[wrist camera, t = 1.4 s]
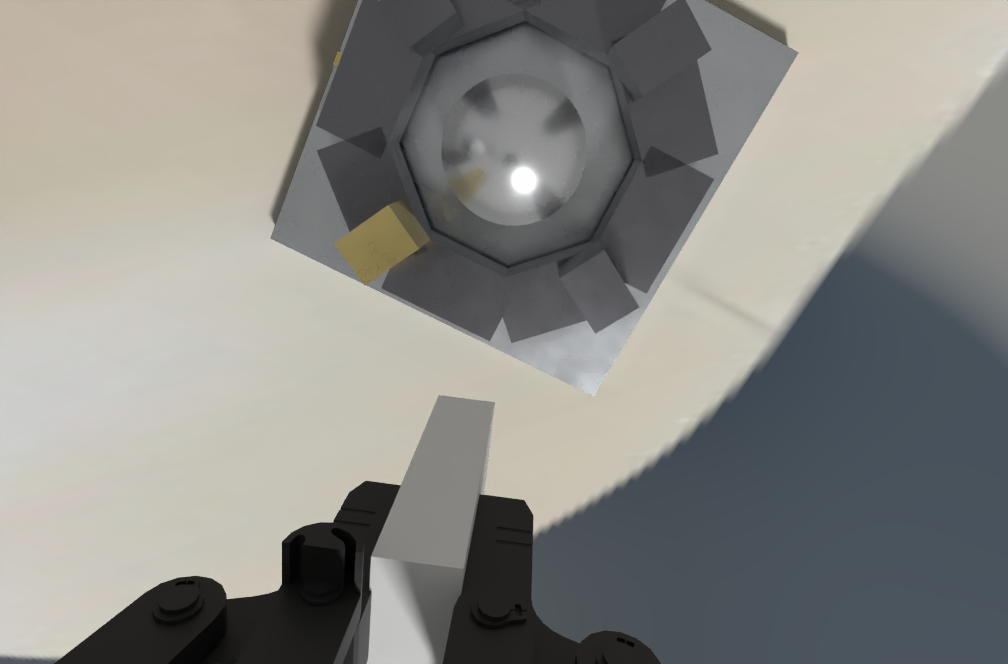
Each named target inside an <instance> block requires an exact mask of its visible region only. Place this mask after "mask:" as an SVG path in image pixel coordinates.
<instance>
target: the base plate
mask: <svg viewBox="0 0 1008 664" xmlns="http://www.w3.org/2000/svg"><path fill="white" fill-rule="evenodd" d="M379 1H380V0H379ZM675 1H676V0H666V2H665V4H664V6H663V8H662V10H664V9H665V8H667V7H668V6H669V5H671V4H672V3H674V2H675ZM361 2H362V0H358V2H357V5H356V8H355V10H354V13H353V16H352V18H351V21H350V24H349V27H348V29H347V32H346V35H345V37H344V40H343V43H342V46H341V48H340V51H339V52H338V51H337V54H336V57H335V60H334V62H333V65H334V67H333V70H332V73H331V75H330V78H329V81H328V84H327V86H326V89H325V92H324V94H323V97H322V100H321V103H320V105H319V108H318V111H317V113H316V116H315V119H314V122H313V124H312V127H311V130H310V132H309V135H308V138H307V141H306V143H305V146H304V149H303V151H302V154H301V157H300V160H299V162H298V165H297V168H296V170H295V173H294V176H293V179H292V181H291V184H290V187H289V189H288V192H287V195H286V198H285V200H284V203H283V206H282V208H281V211H280V214H279V217H278V219H277V222H276V225H275V227H274V230H273V233H272V236H271V239H273V240H275V241H277V242H279V243H281V244H283V245H285V246H287V247H289V248H291V249H293V250H295V251H297V252H299V253H301V254H304V255H306V256H308V257H310V258H312V259H314V260H316V261H318V262H320V263H322V264H324V265H326V266H328V267H330V268H332V269H334V270H336V271H338V272H340V273H342V274H344V275H347V276H349V277H351V278H353V279H355V280H357V281H359V282H361V283H363V282H362V281H361V279H360V278H359V277H358V275H357V274H356V273H355V271H354V270H353V268H352V267H351V266H350V264H349V263H348V262H347V260H346V259H345V258H344V256H343V255H342V253H341V252H340V251H339V249H338V248H337V247H336V245H335V244H334V243H335V242H337V241H338V240H339V239H341V238H342V237H344V236H345V235H346V234H348V233H349V229H348V227H347V224H346V222H345V220H344V217H343V215H342V212H341V210H340V207H339V205H338V202H337V200H336V197H335V195H334V192H333V190H332V188H331V185H330V183H329V180H328V178H327V175H326V173H325V170H324V168H323V165H322V163H321V160H320V158H319V155H318V153H317V150H319V149H322V148H325V147H327V146H330V145H333V144H336V143H338V142H341V141H344V140H343V139H341V138H339V137H337V136H335V135H333V134H331V133H329V132H327V131H325V130H323V129H321V128H319V127H317V126H316V124H317V121H318V118H319V116H320V113H321V110H322V108H323V105H324V102H325V100H326V97H327V94H328V91H329V89H330V86H331V83H332V81H333V78H334V75H335V73H336V70H337V67H338V64H339V62H340V59H341V56H342V54H343V51H344V48H345V46H346V43H347V40H348V37H349V35H350V32H351V29H352V27H353V24H354V21H355V19H356V16H357V13H358V10H359V8H360V5H361ZM686 2H687V4H688V6H689V7H690V9H691V11H692V13H693V15H694V17H695V19H696V21H697V23H698V24H699V26H700V28H701V30H702V32H703V34H704V36H705V38H706V40H707V42H708V43H709V45H710V47H711V49H712V50H711V51H709V52H708V53H706V54H705V55H703V56H702V57H700V58H699V59H698V60H697V61H698V66H699V70H700V75H701V79H702V83H703V88H704V92H705V97H706V101H707V105H708V110H709V114H710V119H711V123H712V127H713V132H714V136H715V141H716V145H717V149H718V154H717V155H714V156H711V157H708V158H705V159H702V160H699V161H696V162H693V163H690V164H687V165H689V166H691V167H693V168H695V169H696V170H698V171H700V172H702V173H704V174H706V175H708V176H710V177H711V178H713V179H714V181H713V182H712V184H711V186H710V187H709V189H708V191H707V192H706V194H705V196H704V198H703V199H702V201H701V203H700V204H699V206H698V208H697V209H696V211H695V213H694V214H693V216H692V218H691V220H690V221H689V223H688V225H687V226H686V228H685V230H684V231H683V233H682V235H681V236H680V238H679V240H678V242H677V243H676V245H675V247H674V248H673V250H672V252H671V253H670V255H669V257H668V258H667V260H666V262H665V264H664V265H663V267H662V269H661V270H660V272H659V274H658V275H657V277H656V279H655V280H654V282H653V284H652V286H651V287H650V289H649V291H648V292H647V294H646V293H644V292H642V291H640V290H638V289H636V288H634V287H632V286H630V285H628V284H626V283H625V284H626V286H627V288H628V289H629V291H630V292H631V294H632V296H633V297H634V299H635V301H636V302H637V304H638V305H639V308H638V309H636V310H634V311H633V312H631V313H629V314H628V315H626V316H624V317H623V318H621V319H619V320H618V321H616V322H614V323H613V324H611V325H609V326H608V327H606V328H604V329H603V330H601V331H599V332H598V333H596V334H595V332H594V331H593V329H592V328H591V326H590V325H589V323H588V322H587V321H584V322H580V323H577V324H574V325H570V326H567V327H564V328H560V329H557V330H554V331H550V332H547V333H544V334H540V335H537V336H534V337H531V338H527V339H524V340H521V341H517V342H514V343H511V340H510V337H509V334H508V332H507V329H506V326H505V323H504V320H503V317H502V319H501V321H500V323H499V325H498V327H497V329H496V331H495V333H494V335H493V336H492V338H491V340H490V341H488V340H486V339H484V338H482V337H480V336H478V335H476V334H473V333H471V332H469V331H467V330H465V329H463V328H461V327H459V326H457V325H455V324H453V323H451V322H449V321H447V320H445V319H443V318H441V317H439V316H437V315H435V314H433V313H431V312H428V311H426V310H424V309H422V308H420V307H418V306H416V305H414V304H412V303H410V302H408V301H406V300H404V299H402V298H400V297H398V296H396V295H394V294H392V293H390V292H388V291H386V290H384V289H381V287H382V285H383V283H384V280H385V278H386V276H387V274H388V271H389V270H387V271H386V272H384V273H383V274H381V275H380V276H378V277H377V278H375V279H374V280H373V281H371V282H370V283H368V284H367V286H369V287H371V288H373V289H375V290H377V291H379V292H381V293H383V294H385V295H387V296H390V297H392V298H394V299H396V300H398V301H400V302H402V303H404V304H406V305H408V306H410V307H412V308H414V309H416V310H418V311H420V312H422V313H424V314H426V315H428V316H430V317H433V318H435V319H437V320H439V321H441V322H443V323H445V324H447V325H449V326H451V327H453V328H455V329H457V330H459V331H461V332H463V333H465V334H467V335H469V336H471V337H473V338H476V339H478V340H480V341H482V342H484V343H486V344H488V345H490V346H492V347H494V348H496V349H498V350H500V351H502V352H504V353H506V354H508V355H510V356H512V357H514V358H516V359H518V360H521V361H523V362H525V363H527V364H529V365H531V366H533V367H535V368H537V369H539V370H541V371H543V372H545V373H547V374H549V375H551V376H553V377H555V378H557V379H559V380H561V381H564V382H566V383H568V384H570V385H572V386H574V387H576V388H578V389H580V390H582V391H584V392H586V393H588V394H590V395H592V396H594V395H595V393H596V392H597V390H598V388H599V387H600V385H601V383H602V382H603V380H604V378H605V377H606V375H607V373H608V372H609V370H610V368H611V367H612V365H613V363H614V362H615V360H616V358H617V357H618V355H619V353H620V351H621V350H622V348H623V346H624V345H625V343H626V341H627V340H628V338H629V336H630V335H631V333H632V331H633V330H634V328H635V326H636V325H637V323H638V321H639V320H640V318H641V316H642V315H643V313H644V311H645V310H646V308H647V306H648V304H649V303H650V301H651V299H652V298H653V296H654V294H655V293H656V291H657V289H658V288H659V286H660V284H661V283H662V281H663V279H664V278H665V276H666V274H667V273H668V271H669V269H670V268H671V266H672V264H673V263H674V261H675V259H676V257H677V256H678V254H679V252H680V251H681V249H682V247H683V246H684V244H685V242H686V241H687V239H688V237H689V236H690V234H691V232H692V231H693V229H694V227H695V226H696V224H697V222H698V221H699V219H700V217H701V216H702V214H703V212H704V210H705V209H706V207H707V205H708V204H709V202H710V200H711V199H712V197H713V195H714V194H715V192H716V190H717V189H718V187H719V185H720V184H721V182H722V180H723V179H724V177H725V175H726V174H727V172H728V170H729V169H730V167H731V165H732V163H733V162H734V160H735V158H736V157H737V155H738V153H739V152H740V150H741V148H742V147H743V145H744V143H745V142H746V140H747V138H748V137H749V135H750V133H751V132H752V130H753V128H754V127H755V125H756V123H757V122H758V120H759V118H760V116H761V115H762V113H763V111H764V110H765V108H766V106H767V105H768V103H769V101H770V100H771V98H772V96H773V95H774V93H775V91H776V90H777V88H778V86H779V85H780V83H781V81H782V80H783V78H784V76H785V75H786V73H787V71H788V70H789V68H790V66H791V64H792V63H793V61H794V59H795V58H796V56H797V54H798V52H797V51H795V50H793V49H791V48H789V47H788V46H786V45H784V44H782V43H781V42H779V41H777V40H775V39H773V38H772V37H770V36H768V35H766V34H764V33H763V32H761V31H759V30H757V29H755V28H754V27H752V26H750V25H748V24H747V23H745V22H743V21H741V20H739V19H738V18H736V17H734V16H732V15H730V14H729V13H727V12H725V11H723V10H721V9H720V8H718V7H716V6H714V5H713V4H711V3H709V2H707V1H705V0H686ZM662 10H661V11H662ZM399 145H400V148H401V150H402V153H403V156H404V159H405V161H406V164H407V167H408V169H409V172H410V175H411V178H412V180H413V183H414V186H415V188H416V191H417V194H418V197H419V199H420V202H421V205H422V207H423V210H424V213H425V216H426V218H427V221H428V224H429V227H430V229H431V230H432V231H434V232H436V233H438V234H440V235H442V236H444V237H446V238H448V239H450V240H452V241H454V242H456V243H458V244H460V245H462V246H464V247H466V248H468V249H470V250H472V251H474V252H476V253H478V254H480V255H482V256H484V257H486V258H488V259H490V260H492V261H494V262H496V263H498V264H500V265H502V266H504V267H506V268H510V267H513V266H516V265H519V264H522V263H525V262H528V261H532V260H535V259H538V258H541V257H544V256H547V255H550V254H553V253H556V252H559V251H563V250H566V249H569V248H572V247H575V246H578V245H581V244H584V243H587V242H590V241H591V240H592V238H593V236H594V234H595V232H596V230H597V229H598V227H599V225H600V223H601V221H602V219H603V217H604V216H605V214H606V212H607V210H608V208H609V206H610V205H611V203H612V201H613V199H614V197H615V195H616V194H617V192H618V190H619V188H620V186H621V184H622V183H623V181H624V179H625V177H626V175H627V173H628V172H629V170H630V168H631V166H632V164H633V162H634V157H633V153H632V149H631V145H630V142H629V138H628V134H627V130H626V126H625V123H624V119H623V115H622V111H621V108H620V104H619V100H618V96H617V93H616V89H615V85H614V81H613V77H612V74H611V70H610V67H609V66H608V65H606V64H604V63H602V62H600V61H598V60H596V59H595V58H593V57H591V56H589V55H587V54H585V53H583V52H582V51H580V50H578V49H576V48H574V47H572V46H571V45H569V44H567V43H565V42H563V41H561V40H559V39H558V38H556V37H554V36H552V35H550V34H548V33H546V32H545V31H543V30H541V29H539V28H537V27H535V26H534V25H532V24H530V23H528V22H526V21H524V22H521V23H519V24H516V25H514V26H511V27H508V28H506V29H503V30H501V31H498V32H495V33H493V34H490V35H488V36H485V37H482V38H480V39H477V40H475V41H472V42H469V43H467V44H464V45H462V46H459V47H456V48H454V49H451V50H449V51H446V52H443V53H441V54H438V55H436V56H435V58H434V61H433V63H432V66H431V68H430V70H429V73H428V75H427V78H426V80H425V82H424V85H423V87H422V90H421V92H420V94H419V97H418V99H417V102H416V104H415V106H414V109H413V111H412V114H411V116H410V118H409V121H408V123H407V126H406V128H405V130H404V133H403V135H402V137H401V140H400V142H399ZM363 284H364V283H363Z"/></svg>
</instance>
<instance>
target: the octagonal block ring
mask: <svg viewBox="0 0 1008 664" xmlns="http://www.w3.org/2000/svg"><path fill="white" fill-rule="evenodd" d="M665 2H666V0H380V1H379V0H362V2H361V5H360V8H359V10H358V13H357V16H356V19H355V21H354V24H353V27H352V29H351V32H350V35H349V37H348V40H347V43H346V46H345V48H344V51H343V54H342V56H341V59H340V62H339V64H338V67H337V70H336V73H335V75H334V78H333V81H332V83H331V86H330V89H329V91H328V94H327V97H326V100H325V102H324V105H323V108H322V110H321V113H320V116H319V118H318V121H317V124H316V126H317V127H319V128H321V129H323V130H325V131H327V132H329V133H331V134H333V135H335V136H337V137H339V138H341V139H343V140H344V141H341V142H338V143H336V144H333V145H330V146H327V147H325V148H322V149H319V150H317V153H318V155H319V158H320V160H321V163H322V165H323V168H324V170H325V173H326V175H327V178H328V180H329V183H330V185H331V188H332V190H333V192H334V195H335V197H336V200H337V202H338V205H339V207H340V210H341V212H342V215H343V217H344V220H345V222H346V224H347V227H348V229H349V233H348V234H346V235H345V236H344V237H342V238H341V239H339V240H338V241H337V242H335V243H334V244H335V245H336V247H337V248H338V249H339V251H340V252H341V253H342V255H343V256H344V258H345V259H346V260H347V262H348V263H349V264H350V266H351V267H352V268H353V270H354V271H355V273H356V274H357V275H358V277H359V278H360V279H361V281H362V282H363V283H364V285H367V284H368V283H370V282H371V281H373V280H374V279H375V278H377V277H378V276H380V275H381V274H383V273H384V272H386V271H387V270H389V271H388V274H387V276H386V278H385V280H384V283H383V285H382V287H381V289H384V290H386V291H388V292H390V293H392V294H394V295H396V296H398V297H400V298H402V299H404V300H406V301H408V302H410V303H412V304H414V305H416V306H418V307H420V308H422V309H424V310H426V311H428V312H431V313H433V314H435V315H437V316H439V317H441V318H443V319H445V320H447V321H449V322H451V323H453V324H455V325H457V326H459V327H461V328H463V329H465V330H467V331H469V332H471V333H473V334H476V335H478V336H480V337H482V338H484V339H486V340H488V341H490V340H491V338H492V336H493V335H494V333H495V331H496V329H497V327H498V325H499V323H500V321H501V319H502V317H503V320H504V323H505V326H506V329H507V332H508V334H509V337H510V340H511V343H514V342H517V341H521V340H524V339H527V338H531V337H534V336H537V335H540V334H544V333H547V332H550V331H554V330H557V329H560V328H564V327H567V326H570V325H574V324H577V323H580V322H584V321H587V322H588V323H589V325H590V326H591V328H592V329H593V331H594V332H595V334H596V333H598V332H599V331H601V330H603V329H604V328H606V327H608V326H609V325H611V324H613V323H614V322H616V321H618V320H619V319H621V318H623V317H624V316H626V315H628V314H629V313H631V312H633V311H634V310H636V309H638V308H639V305H638V304H637V302H636V301H635V299H634V297H633V296H632V294H631V292H630V291H629V289H628V288H627V286H626V284H628V285H630V286H632V287H634V288H636V289H638V290H640V291H642V292H644V293H646V294H647V292H648V291H649V289H650V287H651V286H652V284H653V282H654V280H655V279H656V277H657V275H658V274H659V272H660V270H661V269H662V267H663V265H664V264H665V262H666V260H667V258H668V257H669V255H670V253H671V252H672V250H673V248H674V247H675V245H676V243H677V242H678V240H679V238H680V236H681V235H682V233H683V231H684V230H685V228H686V226H687V225H688V223H689V221H690V220H691V218H692V216H693V214H694V213H695V211H696V209H697V208H698V206H699V204H700V203H701V201H702V199H703V198H704V196H705V194H706V192H707V191H708V189H709V187H710V186H711V184H712V182H713V181H714V179H713V178H711V177H710V176H708V175H706V174H704V173H702V172H700V171H698V170H696V169H695V168H693V167H691V166H689V165H687V164H690V163H693V162H696V161H699V160H702V159H705V158H708V157H711V156H714V155H717V154H718V149H717V145H716V141H715V136H714V132H713V127H712V123H711V119H710V114H709V110H708V105H707V101H706V97H705V92H704V88H703V83H702V79H701V75H700V70H699V66H698V61H697V60H698V59H699V58H700V57H702V56H703V55H705V54H706V53H708V52H709V51H711V50H712V49H711V47H710V45H709V43H708V42H707V40H706V38H705V36H704V34H703V32H702V30H701V28H700V26H699V24H698V23H697V21H696V19H695V17H694V15H693V13H692V11H691V9H690V7H689V6H688V4H687V2H686V0H676V1H675V2H674V3H672V4H671V5H669V6H668V7H667V8H665V9H664V10H662V8H663V6H664V4H665ZM661 10H662V11H661ZM524 21H526V22H528V23H530V24H532V25H534V26H535V27H537V28H539V29H541V30H543V31H545V32H546V33H548V34H550V35H552V36H554V37H556V38H558V39H559V40H561V41H563V42H565V43H567V44H569V45H571V46H572V47H574V48H576V49H578V50H580V51H582V52H583V53H585V54H587V55H589V56H591V57H593V58H595V59H596V60H598V61H600V62H602V63H604V64H606V65H608V66H609V67H610V70H611V74H612V77H613V81H614V85H615V89H616V93H617V96H618V100H619V104H620V108H621V111H622V115H623V119H624V123H625V126H626V130H627V134H628V138H629V142H630V145H631V149H632V153H633V157H634V162H633V164H632V166H631V168H630V170H629V172H628V173H627V175H626V177H625V179H624V181H623V183H622V184H621V186H620V188H619V190H618V192H617V194H616V195H615V197H614V199H613V201H612V203H611V205H610V206H609V208H608V210H607V212H606V214H605V216H604V217H603V219H602V221H601V223H600V225H599V227H598V229H597V230H596V232H595V234H594V236H593V238H592V240H591V241H590V242H587V243H584V244H581V245H578V246H575V247H572V248H569V249H566V250H563V251H559V252H556V253H553V254H550V255H547V256H544V257H541V258H538V259H535V260H532V261H528V262H525V263H522V264H519V265H516V266H513V267H510V268H506V267H504V266H502V265H500V264H498V263H496V262H494V261H492V260H490V259H488V258H486V257H484V256H482V255H480V254H478V253H476V252H474V251H472V250H470V249H468V248H466V247H464V246H462V245H460V244H458V243H456V242H454V241H452V240H450V239H448V238H446V237H444V236H442V235H440V234H438V233H436V232H434V231H432V230H431V229H430V227H429V224H428V221H427V218H426V216H425V213H424V210H423V207H422V205H421V202H420V199H419V197H418V194H417V191H416V188H415V186H414V183H413V180H412V178H411V175H410V172H409V169H408V167H407V164H406V161H405V159H404V156H403V153H402V150H401V148H400V145H399V142H400V140H401V137H402V135H403V133H404V130H405V128H406V126H407V123H408V121H409V118H410V116H411V114H412V111H413V109H414V106H415V104H416V102H417V99H418V97H419V94H420V92H421V90H422V87H423V85H424V82H425V80H426V78H427V75H428V73H429V70H430V68H431V66H432V63H433V61H434V58H435V56H436V55H438V54H441V53H443V52H446V51H449V50H451V49H454V48H456V47H459V46H462V45H464V44H467V43H469V42H472V41H475V40H477V39H480V38H482V37H485V36H488V35H490V34H493V33H495V32H498V31H501V30H503V29H506V28H508V27H511V26H514V25H516V24H519V23H521V22H524ZM625 283H626V284H625Z"/></svg>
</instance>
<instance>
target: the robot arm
mask: <svg viewBox="0 0 1008 664" xmlns="http://www.w3.org/2000/svg"><path fill="white" fill-rule="evenodd" d="M494 406H495V402H487V401H479V400H472V399H464V398H456V397H448V396H440V395H439V397H438V399H437V401H436V404H435V406H434V408H433V411H432V413H431V415H430V418H429V420H428V423H427V425H426V427H425V430H424V432H423V434H422V437H421V439H420V442H419V444H418V446H417V449H416V451H415V453H414V456H413V458H412V460H411V463H410V465H409V468H408V470H407V472H406V475H405V477H404V479H403V482H402V484H401V485H393V484H386V483H378V482H371V481H365V482H364V483H362V484H361V485H359V486H358V487H356V488H355V489H354V490H352V491H351V492H349V494H348V496H347V498H346V499H345V501H344V503H343V505H342V506H341V510H339V512H338V514H337V515H336V517H335V519H334V522H333V523H316V524H311V525H307V526H304V527H302V528H300V529H298V530H296V531H294V532H292V533H291V534H290V535H289V536H288V537H287V538H286V539H284V540H283V541H282V585H281V587H280V588H279V590H278V591H275V592H272V593H269V594H265V595H259V596H253V597H244V598H235V599H227V597H226V593H225V591H224V589H223V587H222V585H221V584H219V583H218V582H216V581H215V580H213V579H211V578H205V577H200V576H191V577H180V578H176V579H173V580H170V581H167V582H164V583H161V584H159V585H158V586H156V587H154V588H153V589H151V590H149V591H148V592H146V593H144V594H143V595H142V596H141V597H139V598H138V599H137V600H135V601H134V602H133V603H132V604H130V605H129V606H128V607H126V608H125V609H124V610H123V611H121V612H120V613H119V614H117V615H116V616H115V617H114V618H112V619H111V620H110V621H108V622H107V623H106V624H105V625H103V626H102V627H101V628H99V629H98V630H97V631H96V632H94V633H93V634H92V635H90V636H89V637H88V638H87V639H85V640H84V641H83V642H81V643H80V644H79V645H78V646H76V647H75V648H74V649H72V650H71V651H70V652H69V653H67V654H66V655H65V656H63V657H62V658H61V659H60V660H58V661H57V662H56V663H54V664H661V663H660V662H659V660H658V659H657V657H656V656H655V655H654V653H653V652H652V651H651V649H649V648H648V647H647V646H646V645H644V644H643V643H642V642H640V641H639V640H637V639H636V638H634V637H631V636H629V635H626V634H624V633H621V632H613V631H601V632H597V633H593V634H590V635H589V636H588V637H586V638H585V639H584V640H583V641H581V643H577V642H575V641H572V640H570V639H568V638H565V637H563V636H561V635H559V634H558V633H556V632H554V631H552V630H551V629H550V628H548V627H547V626H546V625H545V624H543V623H542V621H541V620H540V619H539V617H538V616H537V615H536V613H535V611H534V609H533V606H532V600H531V583H532V582H531V581H532V544H533V514H532V512H531V511H530V509H529V507H528V506H527V504H526V502H525V501H524V500H519V499H511V498H504V497H496V496H489V495H484V492H485V483H486V475H487V466H488V457H489V449H490V440H491V432H492V423H493V414H494Z"/></svg>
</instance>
